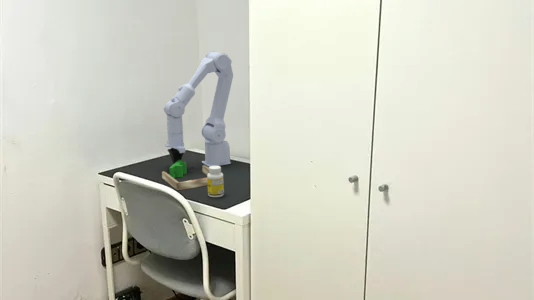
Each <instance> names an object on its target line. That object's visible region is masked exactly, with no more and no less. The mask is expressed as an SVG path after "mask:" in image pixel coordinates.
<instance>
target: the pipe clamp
mask: <svg viewBox="0 0 534 300" xmlns="http://www.w3.org/2000/svg"><path fill="white" fill-rule="evenodd" d="M187 171H188V170H187V162H186V161H183V160H182V159H181V160H178V161H177V162H176V163H174V164H173V163H172V165H171V166H169V175H170V176H171V177H173V178H174V179H176V178H184V175H187V174H188V173H187Z"/></svg>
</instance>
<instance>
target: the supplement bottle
mask: <svg viewBox="0 0 534 300" xmlns="http://www.w3.org/2000/svg"><path fill="white" fill-rule="evenodd" d="M208 168H209V172H210V173H209V174H208V175H207V174H206V176H207V177H206V178H207V184H208V185H207V195H208V196H209V197H211V198H221V197H223V196H224V195H225V189H224V188H225V185H224V173H223V172H222V167H221V165H220V166H210V167H208Z"/></svg>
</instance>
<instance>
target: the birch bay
mask: <svg viewBox="0 0 534 300" xmlns="http://www.w3.org/2000/svg"><path fill="white" fill-rule="evenodd" d="M201 169H202V173H203V174H205V175H206V176H207V175H208V174H209V173H210V172H209V167H208V166H207V165H205V164H202V168H201ZM161 178H162V180H164V181H165V182H166V183H168V184H169V185H170V186H171V187H173V188H174V190H177V191H184V190H189V189H195V188H199V187H208V184H207V177H201V178H197V179H196V178H195V179H190V180H184V181H178V180H177V179H176V178H173V177H171V176H170V173H167V172H166V171H162V172H161Z"/></svg>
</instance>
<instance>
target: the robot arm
mask: <svg viewBox="0 0 534 300" xmlns="http://www.w3.org/2000/svg"><path fill="white" fill-rule="evenodd" d="M232 62H233V61H232V59H231V58H230V57H229V55H228V54H227V53H225V52H217V51H214V50H213V51H212V50H211V51H209V52H207V53H206V54H205V57H203V58H202V59H201V61H200V64H199V66H198V67H197V69H196V70H195V72H194V73H193V74H192V76H191V78H190V79H189V80H188V82H187V83H183V84H182V85H180V86H178V88H177V91H176V93H175V94H174V96H172V97H170V100H169V101H167V102H166V103H165V106H164V108H163V111H164V114H165V115H166V126H167V128H166V129H167V140H166V144H165V145H164V146H165V147H166V148H168V149H167V152H168V153H169V155H170V158H171V161H172V165H173V164H174V163H176V162H177V161H178V160H182V159H183V155H184V154H185V153H186V147H185V143H184V131H183V130H184V126H183V115H184V114H185V111H186V109H185V108H186V106H187V105H188V104H189V102H190V101H191V100H192V99H193V98H194V96H195V94H196V91H195V89H197V87H198V86H199V84H200V83H201V82H203V80H204V78H206V76H207V75H208V74H210V73H215V74H216V76H217V78H218V79H217V81H216V82H217V84H216V86H215V87H216V88H215V92H214V96H213V101H212V106H211V111H210V115H209V117H208V118H207V119H206V120H205V123H204V125H203V126H202V128H201V135H202V137H203V138H204V160H202V161H201V163H202V165H205V166H207V167H208V168H209V167H210V166H220V167H221V166H224V165H225V166H226V165H230V164H231V163H232V162H231V150H230V148H231V147H230V144H229V142H228V141H227V140H225V138H226V134H227V133H226V124H225V120H224V119H225V118H224V117H225V113H226V110H227V106H228V101H229V96H230V93H231V87H232V83H233V78H234V73H233V68H232Z"/></svg>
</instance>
